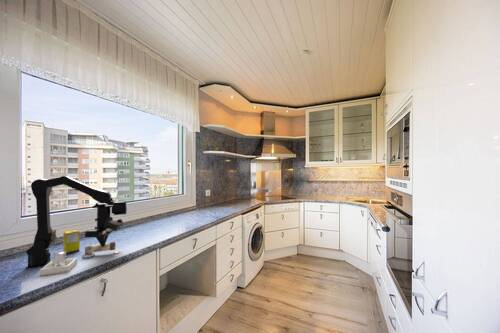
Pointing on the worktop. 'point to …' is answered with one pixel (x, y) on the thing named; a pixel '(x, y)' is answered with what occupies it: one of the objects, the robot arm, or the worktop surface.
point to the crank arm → (99, 248)
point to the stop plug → (60, 259)
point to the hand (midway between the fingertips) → (103, 246)
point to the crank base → (94, 254)
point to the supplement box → (71, 241)
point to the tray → (54, 270)
